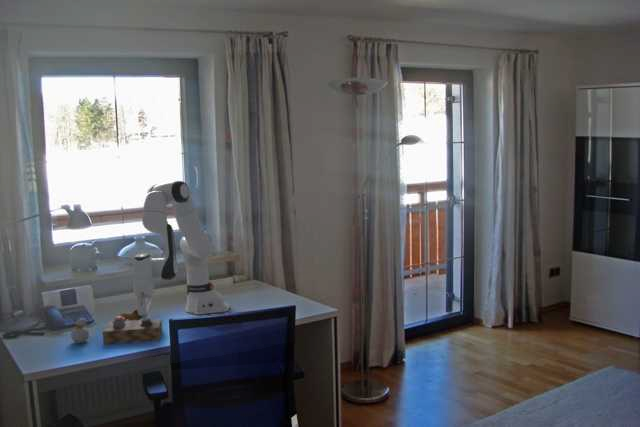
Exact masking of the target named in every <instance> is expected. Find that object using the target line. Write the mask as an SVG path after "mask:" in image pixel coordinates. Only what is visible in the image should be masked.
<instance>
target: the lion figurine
mask: <svg viewBox="0 0 640 427" xmlns="http://www.w3.org/2000/svg"><path fill="white" fill-rule="evenodd" d="M119 316H123V318H125V321H135V320H143V316H139V315H138V308H137V309H135V310H134V311H132V312H123V313H121V314H120V315H119Z"/></svg>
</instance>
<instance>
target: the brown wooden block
mask: <svg viewBox="0 0 640 427" xmlns="http://www.w3.org/2000/svg"><path fill="white" fill-rule="evenodd" d="M150 319H151V318H150ZM142 320H143V319H140V320H126V321H125V326H124V327H119V328H113V321H109V322H107V323H106V325H105V326H104V328H103V331H102V339H103V340H102V342H103V344H102V345H104V346H105V345H116V344H117V345H119V344H118V343H121V344H133V343H134V342H135V343H146V342H145V341H150V342H160V339H161V337H160V336H162V333H163V322H162V321H163V320H162V318H157V319H156V318H155V319H154V318H153V319H151V320H152V325H150V326H141V322H142Z"/></svg>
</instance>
